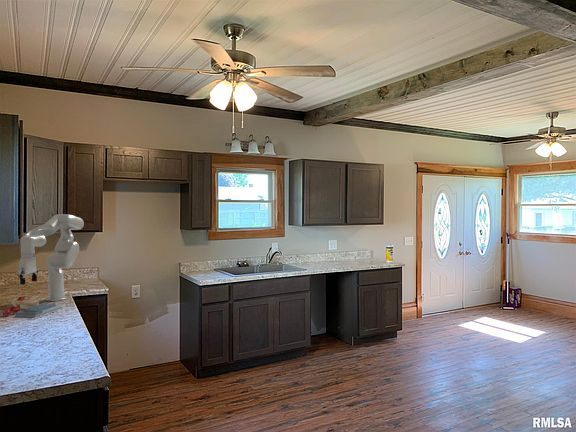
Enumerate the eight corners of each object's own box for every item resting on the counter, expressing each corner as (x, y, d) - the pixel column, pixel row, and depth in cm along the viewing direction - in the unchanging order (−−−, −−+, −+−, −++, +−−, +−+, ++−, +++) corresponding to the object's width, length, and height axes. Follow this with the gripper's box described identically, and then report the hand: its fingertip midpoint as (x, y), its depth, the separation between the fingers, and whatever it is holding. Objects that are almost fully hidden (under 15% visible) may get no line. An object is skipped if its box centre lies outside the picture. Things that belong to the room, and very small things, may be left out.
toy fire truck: (1, 316, 255) (1, 300, 255) (20, 311, 268) (20, 295, 268) (6, 317, 254) (6, 300, 254) (25, 311, 268) (24, 295, 268)
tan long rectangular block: (25, 307, 278) (24, 300, 278) (39, 308, 277) (38, 301, 276) (20, 309, 274) (20, 302, 274) (34, 309, 273) (34, 302, 272)
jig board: (43, 307, 278) (42, 301, 278) (62, 307, 276) (61, 302, 276) (14, 316, 256) (14, 310, 255) (35, 317, 253) (35, 311, 253)
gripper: (32, 254, 283) (33, 280, 284) (11, 257, 266) (12, 285, 267) (43, 254, 282) (43, 280, 283) (22, 257, 265) (23, 285, 266)
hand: (28, 282), depth 275 cm, fingers open, 9 cm apart
